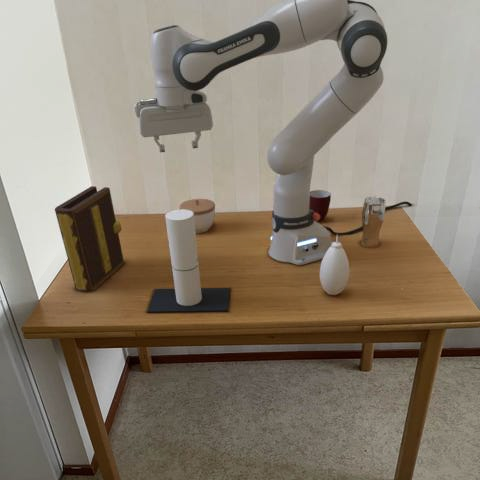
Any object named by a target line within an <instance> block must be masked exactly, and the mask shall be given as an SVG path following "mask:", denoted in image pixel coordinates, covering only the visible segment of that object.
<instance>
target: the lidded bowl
mask: <svg viewBox="0 0 480 480" xmlns="http://www.w3.org/2000/svg"><path fill="white" fill-rule="evenodd" d="M179 209H185V210H190V211H192V212H193V213H194V223H195V233H196V234H200V233H205V232H207V231H209V230H210V228H211V227H212V225H213V224H214V222H215V217H216V203H215V202H214V201H213V200H211V199H207V198H206V199H205V198H193V199H189V200H185V201H183V202H181V203H180V205H179Z"/></svg>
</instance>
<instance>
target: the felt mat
mask: <svg viewBox="0 0 480 480" xmlns="http://www.w3.org/2000/svg"><path fill="white" fill-rule="evenodd" d="M230 293H231V287H201V294H202V300H201V301H200V302H199V303H197V304H195V305H191V306H184V305H180V304H178V303H177V300H176V293H175V288H155V289H154V291H153V293H152V296H151V300H150V302H149V306H148V308H147V310H146V312H147V314H166V313H167V314H168V313H169V314H170V313H171V314H172V313H223V312H224V313H227V312H229V306H230V305H229V303H230Z"/></svg>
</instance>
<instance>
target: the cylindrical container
mask: <svg viewBox="0 0 480 480" xmlns="http://www.w3.org/2000/svg"><path fill="white" fill-rule="evenodd" d="M164 217H165V224H166V225H165V226H166V231H167V240H168V247H169V254H170V262H171V270H172V276H173V277H172V279H173V283H174V284H173V285H174V289H175V293H176V300H177V303H178V304H180V305H184V306H191V305H195V304H197V303H199V302H200V301H201V300H202V294H201V288H202V287H201V274H200V266H199V255H198V246H197V244H198V243H197V235H196V234H197V233H195V223H194V213H193V212H192V211H190V210H185V209H180V208H179V209H173V210H170V211H168V212H167V213H166V214H165V215H164Z"/></svg>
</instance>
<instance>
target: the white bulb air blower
mask: <svg viewBox="0 0 480 480" xmlns="http://www.w3.org/2000/svg"><path fill="white" fill-rule="evenodd" d="M342 246H343V245H342V243H341V242H339V235H338V234H337V235H336V237H335V241H333V243H332V244H331V247H330V248H329V249H328V250H327V252H326V254H325V255H324V258H323V259H321V263H320V268H319V281H320V285H321V287H322V289H323V291H324V292H326V293H327V294H328V295H330V296H336V295H338V294H341V293H342V292H343V291H344V290H345V288H346V287H347V284H348V283H349V280H350V264H349V263H350V262H349V258H348V256H347V253H346V251H345V249H344V248H343V247H342Z"/></svg>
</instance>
